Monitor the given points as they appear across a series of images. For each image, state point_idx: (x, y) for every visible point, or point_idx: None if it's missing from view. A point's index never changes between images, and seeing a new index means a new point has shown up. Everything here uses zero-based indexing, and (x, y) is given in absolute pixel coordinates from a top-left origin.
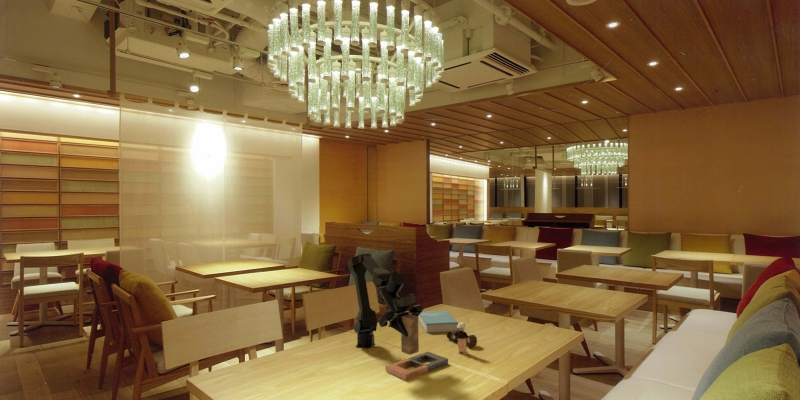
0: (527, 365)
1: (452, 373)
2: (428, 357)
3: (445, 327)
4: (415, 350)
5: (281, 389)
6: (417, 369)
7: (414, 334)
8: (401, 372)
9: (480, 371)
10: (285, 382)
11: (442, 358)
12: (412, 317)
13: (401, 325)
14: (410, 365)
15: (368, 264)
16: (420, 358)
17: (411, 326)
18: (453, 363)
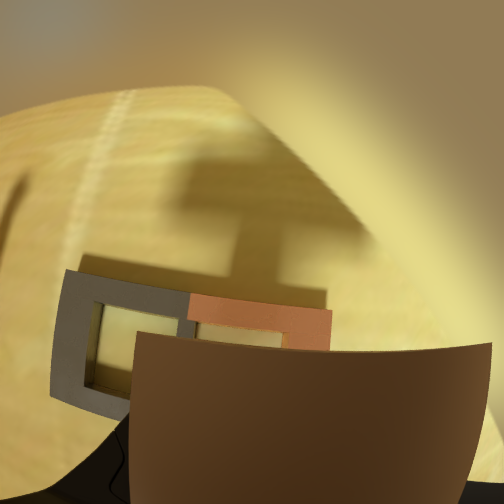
0: (25, 111)
1: (145, 211)
2: (87, 366)
3: None
4: (231, 343)
5: (494, 458)
6: (252, 310)
7: (257, 346)
8: (325, 342)
9: (88, 155)
10: None
11: (73, 293)
12: (365, 421)
13: None
14: None
15: None
16: (117, 394)
17: (348, 351)
18: (62, 262)
